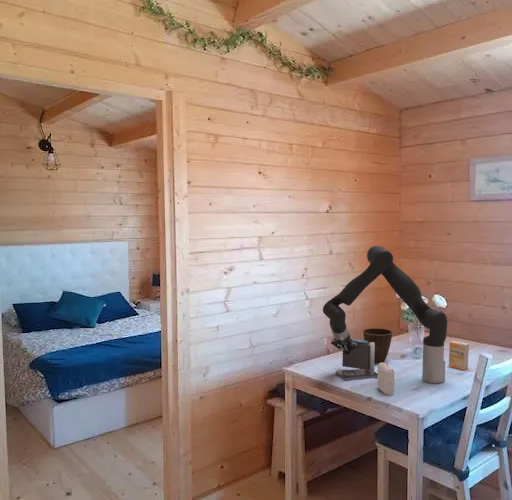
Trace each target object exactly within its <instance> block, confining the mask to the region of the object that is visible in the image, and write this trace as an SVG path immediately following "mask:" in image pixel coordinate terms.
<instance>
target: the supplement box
mask: <svg viewBox="0 0 512 500" xmlns="http://www.w3.org/2000/svg"><path fill="white" fill-rule="evenodd" d="M469 350H470V343H467V342H463V341H458V340H451V341H450V342H449V349H448V351H449V353H448V367H449V368H452V369H457V370H462V371H465V370H468V368H469Z"/></svg>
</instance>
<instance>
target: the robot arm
mask: <svg viewBox="0 0 512 500" xmlns="http://www.w3.org/2000/svg"><path fill="white" fill-rule="evenodd" d="M366 257H367V262H368V263H369V265H368V267H367V268H366V269H365V270H364V271H362V273H360V274H359V275H358V276H355V278H352V280H350V281H349V282H348V283H347V284H346V285H345V286H344V288H343V289H342V290H341V291H340V292H339V293H338V294H337V295H335V296H333V297H332V298H331V299H329V300H328V301H326V302H325V303H324V305H323V307H322V312H323V314H324V315H325V316H326V317H327V318H328V319H329V327H330V330H331V334H332V336H333V338H331V341H330V345H333V346H334V347H335V348H337V349H338V350H342V353H343V352H344V353H345V354H349V352H350V351H351V350H353V349H354V348H355V347H356V345H357V342H352V340H351V339H352V338H351V334H350V332H349V328H348V326H347V323H346V312H345V311H344V310H343V308H342V307H340V305H341V304H344V305H345V306H351V305H352V304H353V303H354V302H355V301H356V300H357V298H359V296H360V295H361V294H362V292H363V291H364V290H365V289H366V288H368V287H369V285H370V284H371V283H373V281H375V280H376V279H378V277H379V276H380V275H382V276H383V277H384V278H385V280H386V282H387V283H388V284H389V286H390V287H391V288H392V290H394V292H395V293H396V295H397V296H398V297H399V298H400V299H401V300H402V301H403V303H404V304H406V306H407V307H409V309H410V310H411V311H412V312H413V314H414V315H415V317H416V318H417V320H418V321H419V322H420V324H421V325H422V326H423V327H424V328H426V329H429V333H428V334H429V335H426V336H424V337H423V340H422V370H421V371H422V373H421V375H422V376H421V379H422V382H425V383H430V384H442V383H443V382H446V361H445V360H444V359H445V356H444V355H445V343H446V339H447V333H448V332H447V331H448V317H447V315H446V314H445V313H444V312H443V311H439V310H437V309H433V308H431V306H429V305H428V304H427V303H426V301H424V299H423V296H422V292H421V289H420V288H419V286H418V285H417V284H416V282H414V280H413V279H412V278H411V277H410V276H409V275H408V274H407V273H405V272H404V271H403V270H402V269H401V268H399V267H398V265H396V263H394V262H393V261H394V255H393V254H392V252H391V251H390V250H388V249H386V248H385V247H383V246H380V245H379V246H378V245H374V246H372V247H369V248H368V251H367V252H366ZM350 344H351V345H350ZM349 345H350V346H349Z"/></svg>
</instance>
